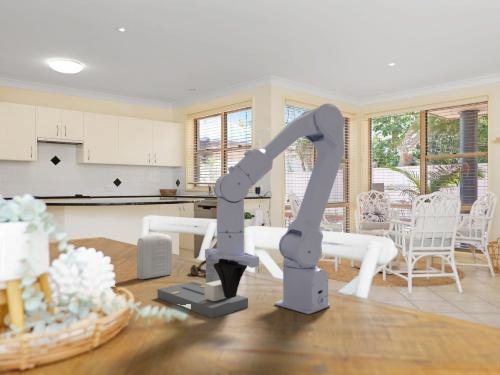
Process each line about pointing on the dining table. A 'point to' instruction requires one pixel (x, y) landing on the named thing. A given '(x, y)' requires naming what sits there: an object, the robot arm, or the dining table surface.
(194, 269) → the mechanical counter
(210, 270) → the medicine box
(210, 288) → the fader
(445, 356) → the dining table surface
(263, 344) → the dining table surface
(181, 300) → the board
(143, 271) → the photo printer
